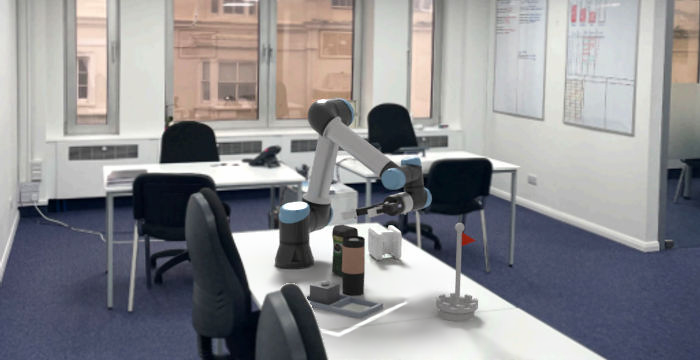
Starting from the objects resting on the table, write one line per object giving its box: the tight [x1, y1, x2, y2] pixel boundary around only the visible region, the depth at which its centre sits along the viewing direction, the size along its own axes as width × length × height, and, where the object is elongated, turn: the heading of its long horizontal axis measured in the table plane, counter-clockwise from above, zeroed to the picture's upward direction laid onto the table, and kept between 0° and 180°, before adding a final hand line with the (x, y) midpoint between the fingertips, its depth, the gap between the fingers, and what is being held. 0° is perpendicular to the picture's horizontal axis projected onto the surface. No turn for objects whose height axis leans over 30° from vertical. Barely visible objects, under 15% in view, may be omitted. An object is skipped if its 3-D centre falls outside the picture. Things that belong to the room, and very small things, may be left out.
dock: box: [305, 293, 384, 320], centre depth 263 cm, size 25×13×2 cm, turn 55°
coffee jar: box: [331, 223, 359, 278], centre depth 300 cm, size 10×8×19 cm
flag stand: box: [436, 222, 479, 322], centre depth 255 cm, size 13×13×30 cm
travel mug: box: [341, 235, 366, 297], centre depth 275 cm, size 8×8×20 cm
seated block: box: [309, 279, 341, 305], centre depth 265 cm, size 7×7×7 cm
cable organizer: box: [367, 225, 403, 261], centre depth 326 cm, size 15×11×12 cm
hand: (355, 215), depth 280 cm, fingers open, 13 cm apart
